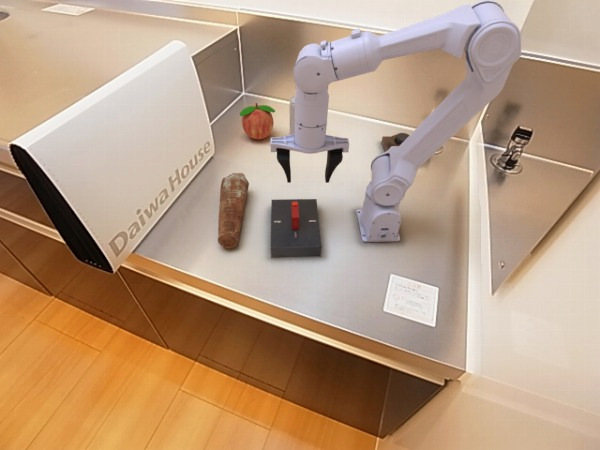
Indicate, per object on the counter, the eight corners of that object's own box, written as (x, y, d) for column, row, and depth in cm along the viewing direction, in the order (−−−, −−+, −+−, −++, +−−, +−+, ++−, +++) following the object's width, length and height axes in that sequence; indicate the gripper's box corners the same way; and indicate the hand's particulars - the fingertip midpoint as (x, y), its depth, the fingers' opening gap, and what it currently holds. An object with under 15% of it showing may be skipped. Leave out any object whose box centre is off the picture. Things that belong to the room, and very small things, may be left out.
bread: (250, 190, 88) (248, 171, 84) (240, 251, 75) (238, 233, 71) (223, 189, 88) (220, 170, 84) (209, 251, 75) (205, 232, 71)
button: (410, 146, 96) (412, 140, 94) (396, 146, 96) (398, 140, 94) (407, 138, 98) (408, 132, 97) (393, 138, 98) (395, 132, 97)
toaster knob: (298, 229, 75) (299, 216, 73) (291, 229, 75) (292, 216, 72) (298, 213, 78) (298, 200, 76) (291, 214, 78) (291, 201, 76)
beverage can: (286, 141, 102) (286, 101, 94) (294, 133, 105) (295, 93, 97) (302, 146, 101) (303, 105, 92) (309, 137, 104) (311, 97, 95)
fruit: (242, 128, 107) (238, 95, 99) (275, 127, 108) (273, 94, 100) (242, 145, 101) (238, 112, 94) (277, 143, 102) (276, 110, 94)
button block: (418, 164, 96) (422, 151, 93) (388, 165, 96) (391, 152, 93) (409, 143, 103) (412, 130, 100) (381, 143, 103) (383, 130, 100)
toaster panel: (320, 256, 74) (321, 246, 72) (271, 257, 74) (270, 247, 72) (315, 208, 84) (316, 198, 82) (272, 209, 84) (271, 198, 81)
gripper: (349, 108, 68) (341, 167, 78) (270, 107, 68) (272, 167, 77) (353, 128, 63) (345, 189, 73) (269, 128, 63) (271, 189, 72)
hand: (308, 179), depth 75 cm, fingers open, 7 cm apart
